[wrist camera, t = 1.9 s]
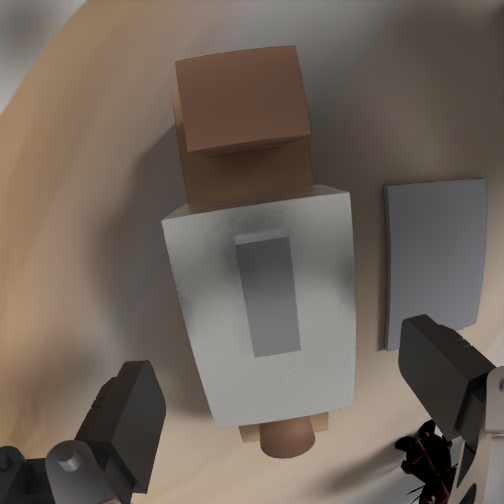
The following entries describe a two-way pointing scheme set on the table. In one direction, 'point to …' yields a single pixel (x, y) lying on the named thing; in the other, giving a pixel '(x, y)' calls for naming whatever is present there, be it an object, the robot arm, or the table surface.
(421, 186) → the felt mat
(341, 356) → the lever cap
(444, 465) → the cat figurine
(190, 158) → the plane body
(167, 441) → the table surface
